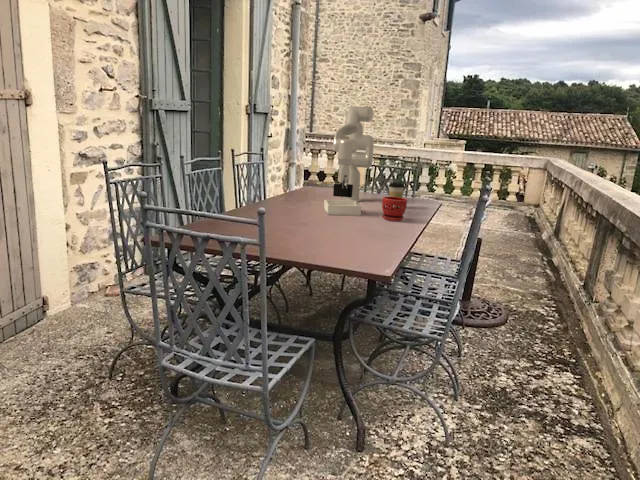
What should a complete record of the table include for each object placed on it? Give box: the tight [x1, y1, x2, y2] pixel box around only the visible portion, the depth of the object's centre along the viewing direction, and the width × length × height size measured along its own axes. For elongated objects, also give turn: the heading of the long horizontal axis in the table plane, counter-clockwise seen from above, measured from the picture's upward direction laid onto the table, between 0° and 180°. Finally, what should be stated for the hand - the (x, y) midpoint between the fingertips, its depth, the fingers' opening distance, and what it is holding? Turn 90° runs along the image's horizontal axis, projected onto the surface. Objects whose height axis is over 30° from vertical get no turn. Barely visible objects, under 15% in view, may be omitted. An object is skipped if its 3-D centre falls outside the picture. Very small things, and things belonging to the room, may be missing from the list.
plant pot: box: [381, 196, 408, 222], centre depth 264 cm, size 13×13×12 cm
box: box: [323, 199, 362, 217], centre depth 277 cm, size 17×19×6 cm
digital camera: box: [332, 182, 353, 198], centre depth 274 cm, size 10×5×7 cm, turn 77°
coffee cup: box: [388, 181, 406, 207], centre depth 300 cm, size 10×10×15 cm
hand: (342, 193), depth 275 cm, fingers closed on digital camera, 6 cm apart
